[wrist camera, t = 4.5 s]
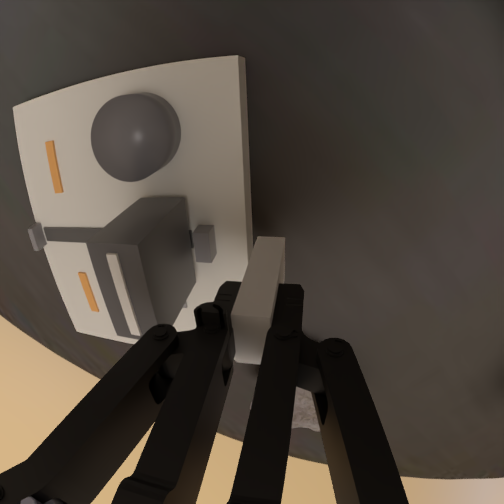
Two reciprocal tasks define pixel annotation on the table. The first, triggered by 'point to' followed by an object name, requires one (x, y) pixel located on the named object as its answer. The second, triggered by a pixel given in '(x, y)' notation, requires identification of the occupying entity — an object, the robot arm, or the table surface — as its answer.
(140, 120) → the console
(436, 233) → the table surface
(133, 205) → the fader
